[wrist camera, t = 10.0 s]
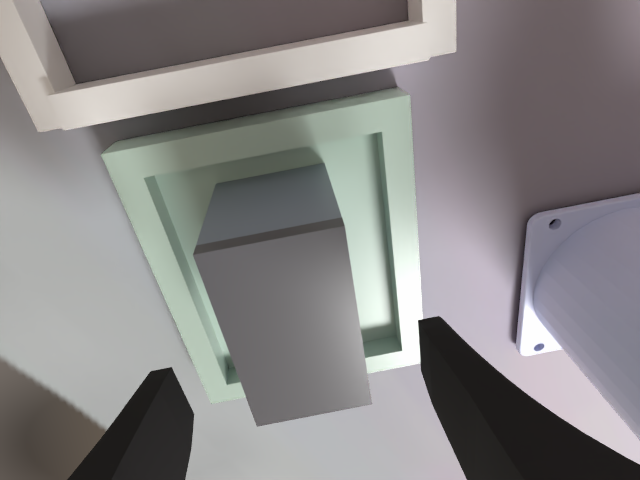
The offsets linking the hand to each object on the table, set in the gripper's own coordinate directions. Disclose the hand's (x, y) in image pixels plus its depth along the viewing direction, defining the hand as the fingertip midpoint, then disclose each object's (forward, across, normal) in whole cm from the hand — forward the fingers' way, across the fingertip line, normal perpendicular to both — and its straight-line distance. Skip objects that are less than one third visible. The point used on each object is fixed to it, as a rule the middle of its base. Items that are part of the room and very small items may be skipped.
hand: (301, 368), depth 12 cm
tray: (+6, 0, 0) cm, 6 cm away
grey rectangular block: (+6, 0, 0) cm, 6 cm away
